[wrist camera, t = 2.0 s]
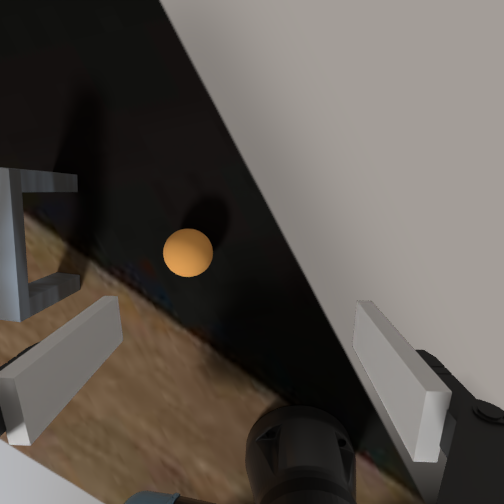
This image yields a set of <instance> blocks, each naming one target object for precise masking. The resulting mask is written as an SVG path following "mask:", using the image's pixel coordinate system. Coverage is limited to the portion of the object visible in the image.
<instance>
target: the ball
mask: <svg viewBox="0 0 504 504" xmlns="http://www.w3.org/2000/svg"><path fill="white" fill-rule="evenodd" d="M163 255H164V260H165V262H166V264H167V266H168V267H169V269H170V270H171V271H173V272H174V273H176V274H178V275H180V276H184V277H192V276H196V275H199V274H201V273H202V272H204V271H205V270H206V269H207V268H208V266H209V265H210V263H211V260H212V256H213V249H212V245H211V242H210V241H209V239H208V238H207V237H206V236H205V235H204V234H203V233H202V232H200V231H198V230H195V229H182V230H179V231H176V232H175V233H173V234H172V235H171V236H170V237H169V238H168V239H167V241H166V243H165V245H164V251H163Z"/></svg>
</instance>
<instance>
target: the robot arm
mask: <svg viewBox="0 0 504 504" xmlns="http://www.w3.org/2000/svg"><path fill="white" fill-rule="evenodd" d="M122 341H123V335H122V327H121V319H120V312H119V304H118V296H103V297H102V298H100V299H99V300H98V301H96V302H95V303H94V304H92V305H91V306H89V307H88V308H87V309H85V310H84V311H83V312H81V313H80V314H78V315H77V316H76V317H74V318H73V319H71V320H70V321H69V322H67V323H66V324H65V325H63V326H62V327H60V328H59V329H58V330H56V331H55V332H54V333H52V334H51V335H49V336H48V337H47V338H45V339H44V340H42V341H40V342H38V343H36V344H34V345H32V346H30V347H28V348H26V349H25V350H23V351H22V352H21V353H19V354H18V355H17V357H14V358H12V359H11V360H9V361H8V363H5V364H4V365H2V366H1V367H0V436H1V435H2V434H3V433H4V432H5V431H6V434H7V437H8V441H9V445H30V446H31V444H32V443H33V442H34V441H35V440H36V439H37V438H38V437H39V435H40V434H41V433H42V432H43V431H44V430H45V429H46V427H47V426H48V425H49V424H50V423H51V422H52V421H53V419H54V418H55V417H56V416H57V415H58V414H59V413H60V411H61V410H62V409H63V408H64V407H65V406H66V405H67V404H68V402H69V401H70V400H71V399H72V398H73V397H74V396H75V394H76V393H77V392H78V391H79V390H80V389H81V388H82V386H83V385H84V384H85V383H86V382H87V381H88V380H89V379H90V377H91V376H92V375H93V374H94V373H95V372H96V371H97V369H98V368H99V367H100V366H101V365H102V364H103V363H104V361H105V360H106V359H107V358H108V357H109V356H110V355H111V353H112V352H113V351H114V350H115V349H116V348H117V347H118V346H119V344H120V343H121V342H122ZM352 347H353V349H354V350H355V352H356V354H357V356H358V358H359V360H360V362H361V364H362V366H363V367H364V369H365V371H366V373H367V375H368V377H369V378H370V381H371V382H372V384H373V386H374V388H375V390H376V392H377V394H378V396H379V398H380V399H381V401H382V403H383V405H384V407H385V409H386V411H387V413H388V415H389V416H390V418H391V420H392V422H393V424H394V426H395V428H396V430H397V432H398V433H399V435H400V437H401V439H402V441H403V443H404V445H405V446H406V448H407V450H408V452H409V454H410V456H411V458H412V460H413V461H416V462H437V460H438V455H439V451H440V448H441V449H442V451H443V452H444V454H445V455H446V457H447V462H446V466H445V470H444V474H443V478H442V482H441V486H440V490H439V494H438V499H437V502H436V504H504V411H503V410H502V409H500V408H499V407H497V406H495V405H493V404H491V403H488V402H485V401H482V400H478V399H476V398H475V397H474V396H473V395H472V394H471V393H470V392H469V391H468V390H467V389H466V388H465V387H464V386H463V385H462V384H461V383H460V382H459V381H458V380H457V379H456V378H455V377H454V376H453V375H452V374H451V373H450V372H449V371H448V370H447V368H445V367H444V365H443V364H442V363H441V362H440V361H439V360H438V359H437V358H436V357H434V356H433V355H431V354H429V353H428V352H426V351H425V350H414V349H413V347H412V346H411V345H410V344H409V343H408V342H407V341H406V339H405V338H404V337H403V336H402V335H401V334H400V333H399V332H398V330H397V329H396V328H395V327H394V326H393V325H392V324H391V323H390V321H389V320H388V319H387V318H386V317H385V316H384V315H383V314H382V312H380V310H379V309H378V308H377V307H376V306H375V305H374V303H373V302H372V301H357V304H356V314H355V324H354V334H353V343H352ZM245 463H246V470H247V474H248V478H249V482H250V485H251V489H252V493H253V496H254V500H255V504H357V503H356V458H355V452H354V449H353V446H352V443H351V440H350V437H349V435H348V433H347V431H346V429H345V427H344V426H343V425H342V424H341V422H340V421H339V420H338V419H336V418H335V417H334V416H333V415H331V414H329V413H328V412H326V411H324V410H321V409H318V408H315V407H311V406H303V405H294V406H287V407H282V408H279V409H276V410H274V411H272V412H270V413H268V414H266V415H265V416H263V417H262V418H261V419H260V420H259V421H258V422H257V423H256V424H255V425H254V426H253V428H252V429H251V431H250V433H249V436H248V439H247V443H246V458H245ZM124 504H215V503H211V502H206V501H202V500H197V499H192V498H188V497H183V496H180V494H179V493H174V494H173V495H172V494H165V493H159V492H152V491H141V492H138V493H136V494H134V495H133V496H131V497H130V498H129V499H128V500H127V501H126V502H125V503H124Z"/></svg>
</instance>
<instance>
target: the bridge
mask: <svg viewBox="0 0 504 504" xmlns="http://www.w3.org/2000/svg"><path fill="white" fill-rule="evenodd" d="M22 192H78V186H77V175H74V174H66V173H57V172H47V171H36V170H25V169H14V168H3V167H0V320H8V321H16V322H21V321H23V320H25V319H27V318H29V317H31V316H32V315H34V314H36V313H38V312H40V311H42V310H44V309H45V308H47V307H49V306H51V305H53V304H55V303H56V302H58V301H60V300H62V299H64V298H66V297H67V296H69V295H71V294H73V293H75V292H77V291H79V290H80V275H76V274H67V273H58V272H56V273H54V274H51V275H49V276H46V277H44V278H41V279H39V280H36V281H34V282H31V283H28V274H27V260H26V245H25V230H24V216H23V201H22Z"/></svg>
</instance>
